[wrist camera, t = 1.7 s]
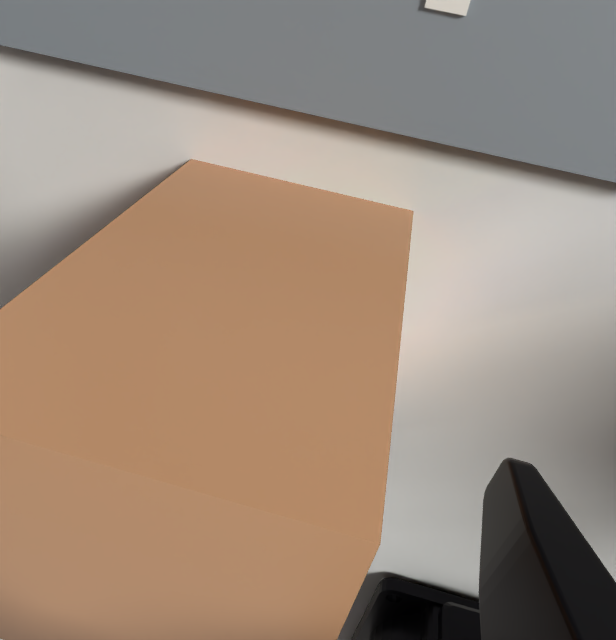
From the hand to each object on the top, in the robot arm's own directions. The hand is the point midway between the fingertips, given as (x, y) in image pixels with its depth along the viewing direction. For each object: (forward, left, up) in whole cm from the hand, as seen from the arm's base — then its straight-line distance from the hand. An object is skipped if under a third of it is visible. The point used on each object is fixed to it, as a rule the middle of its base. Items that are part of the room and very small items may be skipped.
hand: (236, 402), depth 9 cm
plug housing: (0, 0, -4) cm, 4 cm away
